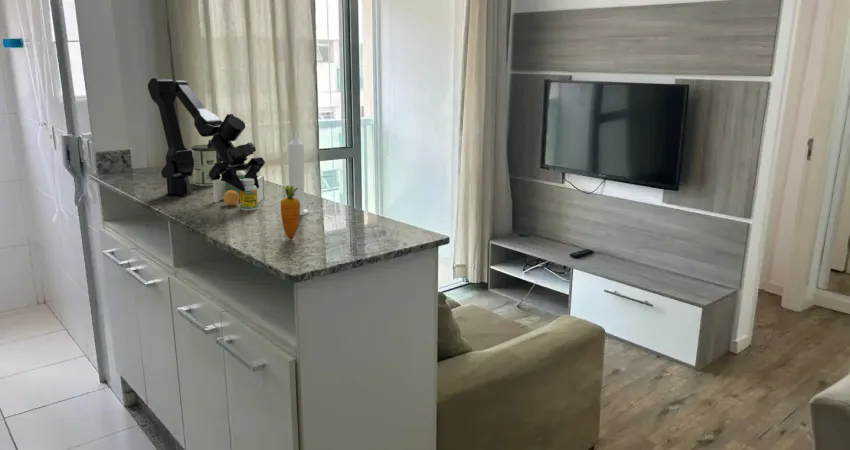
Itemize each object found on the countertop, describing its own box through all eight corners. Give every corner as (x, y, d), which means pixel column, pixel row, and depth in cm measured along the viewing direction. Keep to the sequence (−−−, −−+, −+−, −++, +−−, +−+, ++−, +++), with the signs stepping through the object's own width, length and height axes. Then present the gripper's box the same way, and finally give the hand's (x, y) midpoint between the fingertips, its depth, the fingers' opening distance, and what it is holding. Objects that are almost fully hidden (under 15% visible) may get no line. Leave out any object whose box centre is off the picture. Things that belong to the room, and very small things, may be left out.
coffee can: (210, 180, 242) (208, 143, 239) (228, 183, 237) (226, 146, 233) (187, 183, 234) (185, 146, 230) (205, 187, 228) (203, 149, 225)
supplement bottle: (254, 206, 202) (253, 177, 199) (260, 210, 198) (259, 180, 195) (237, 208, 199) (236, 178, 197) (243, 211, 195) (242, 181, 192)
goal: (213, 202, 205) (212, 178, 203) (224, 196, 214) (223, 173, 212) (255, 204, 205) (254, 180, 203) (264, 198, 214) (263, 175, 212)
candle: (312, 211, 198) (312, 132, 191) (301, 216, 191) (300, 134, 185) (293, 209, 200) (291, 131, 194) (281, 214, 193) (279, 133, 187)
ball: (221, 206, 200) (220, 191, 199) (226, 203, 205) (226, 188, 204) (236, 207, 200) (236, 192, 199) (241, 204, 205) (241, 189, 204)
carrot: (282, 237, 169) (281, 182, 165) (301, 237, 169) (300, 183, 165) (280, 242, 164) (278, 186, 160) (299, 242, 164) (298, 186, 160)
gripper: (213, 136, 187) (239, 177, 184) (260, 132, 202) (285, 170, 199) (197, 159, 193) (222, 199, 190) (244, 153, 208) (268, 190, 205)
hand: (251, 189), depth 196 cm, fingers closed on supplement bottle, 5 cm apart
